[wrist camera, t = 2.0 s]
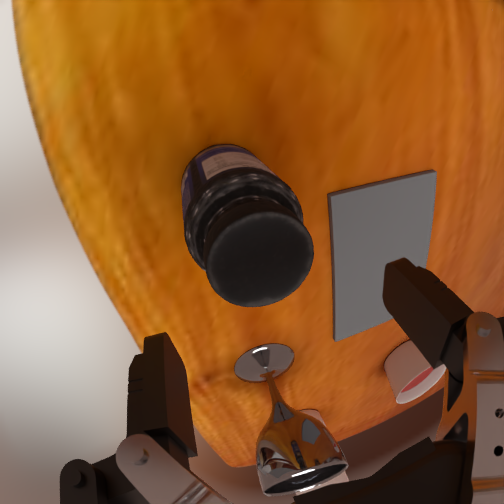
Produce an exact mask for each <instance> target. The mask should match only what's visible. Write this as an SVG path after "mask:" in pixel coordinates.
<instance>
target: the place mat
mask: <svg viewBox="0 0 504 504" xmlns="http://www.w3.org/2000/svg"><path fill="white" fill-rule="evenodd" d="M436 175H437V172H436V171H434V170H429V171H424V172H419V173H415V174H410V175H406V176H401V177H397V178H392V179H388V180H384V181H379V182H375V183H371V184H366V185H362V186H358V187H354V188H350V189H345V190H341V191H337V192H333V193H329V194H328V206H329V220H330V236H331V255H332V281H333V339H334V341H335V342H336V341H339V340H342V339H344V338H347V337H349V336H352V335H355V334H357V333H360V332H362V331H364V330H367V329H369V328H372V327H374V326H377V325H379V324H381V323H384V322H386V321H388V320H390V319H393V317H392V316H391V314H390V313H389V312H388V311H387V309H386V308H385V305H384V303H383V298H382V293H383V282H384V271H385V265H386V264H387V263H390V262H392V261H395V260H398V259H400V258H403V257H405V258H407V259H408V260H409V261H411V262H412V263H413V264H414V265H415V266H416V267H417V266H420V267H422V268H426V263H427V257H428V251H429V244H430V237H431V230H432V221H433V212H434V202H435V191H436Z"/></svg>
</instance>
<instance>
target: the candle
mask: <svg viewBox="0 0 504 504" xmlns="http://www.w3.org/2000/svg"><path fill="white" fill-rule="evenodd" d="M384 369H385V372H386V375H387V377H388V380H389V383H390V385H391V388H392V391H393V394H394V396H395V399H396V402H397V403H399V404H402V403H406V402H409V401H411V400H414V399H415V398H417V397H419V396H420V395H422V394H423V393H425V392H426V391H427V390H429V389H430V388H431V387H432V386H433V385H434V384H435V383H436V382H437V381H438V380H439V379H440V378H441V376H442V375H443V373H444V372H445V370H446V366H445V365H444V364H443V365H441V366H439V367H438V368H436V369H433V368H432V367H431V365H430V364H429V363H428V361H427V360H426V359H425V357H424V356H423V355H422V353H421V352H420V351H419V350H418V348H417V347H416V346H415V344H414V343H413V342H412V341H411V340H410V341H407V342H405V343H403V344H401V345H400V346H399V347H397V348H396V349H395V350H394V351H393V352H392V353H391V354H390V355H389V356H388V358H387V359H386V361H385V363H384Z"/></svg>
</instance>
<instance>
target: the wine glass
mask: <svg viewBox="0 0 504 504" xmlns="http://www.w3.org/2000/svg"><path fill="white" fill-rule="evenodd" d="M293 362H294V352H293V351H292V349H291V348H290V347H288V346H286V345H283V344H265V345H261V346H258V347H255V348H253V349H251V350H249V351H247V352H246V353H244V354H243V355H242V356H241V357H240V358H239V359H238V360H237V362H236V364H235V366H234V371H235V374H236V376H237V377H238V378H239V379H241V380H243V381H245V382H249V383H261V382H267V383H268V386H269V390H270V395H271V401H272V410H271V414H270V416H269V419H268V420H267V422H266V424H265V426H264V427H263V429H262V431H261V432H260V434H259V436H258V439H257V442H256V464H257V471H258V475H259V480H260V483H261V487H262V490H263V493H264V495H266V496H281V495H287V494H293V493H297V492H301V491H304V490H307V489H310V488H313V487H316V486H318V485H321V484H323V483H325V482H327V481H329V480H331V479H333V478H335V477H337V476H338V475H340V474H341V473H343V472H344V471H345V470H346V469H347V468H348V464H347V461H346V459H345V457H344V455H343V452H342V451H341V449H340V447H339V445H338V443H337V441H336V440H335V438H334V437H333V435H332V434H331V433H330V431H329V430H328V429H327V428H326V426H325V425H324V424H323V423H322V422H321V421H320V420H318V419H316V418H314V417H313V416H310V415H308V414H305V413H303V412H300V411H298V410H295V409H294V408H292V407H290V406H289V405H288V404H287V403H286V402H285V401H284V400H283V398H282V396H281V395H280V393H279V391H278V389H277V387H276V384H275V382H274V379H275V378H277V377H279V376H281V375H283V374H284V373H285V372H286V371H288V370H289V368H290V367H291V366H292V364H293Z"/></svg>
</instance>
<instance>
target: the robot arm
mask: <svg viewBox="0 0 504 504" xmlns="http://www.w3.org/2000/svg"><path fill="white" fill-rule="evenodd" d="M382 298H383V303H384V305H385V308H386V309H387V311H388V312H389V313H390V314H391V316H392V317H393V318H394V319H395V321H396V322H397V323H398V324H399V326H400V327H401V328H402V329H403V331H404V332H405V333H406V334H407V336H408V337H409V338H410V339H411V341H412V342H413V343H414V344H415V346H416V347H417V348H418V350H419V351H420V352H421V353H422V355H423V356H424V357H425V359H426V360H427V361H428V363H429V364H430V365H431V367H432V368H433V369H436V368H438V367H439V366H441V365H443V364H444V365H445V366H446V371H445V386H444V402H443V415H442V419H441V422H440V425H439V428H438V431H437V435H436V440H435V441H434V442H432V441H431V440H430V438H429V437H427V438H425V439H424V440H422V441H420V442H419V443H417V444H415V445H413V446H412V447H410V448H408V449H406V450H404V451H402V452H400V453H399V454H398V455H397V456H396V457H394V458H393V459H392V460H391V461H390V462H388V463H387V464H386V465H385V466H383V467H382V468H381V469H380V470H379V471H377V472H376V473H375V474H373V475H372V476H370V477H368V478H364V479H359V480H354V481H348V482H342V483H336V484H329V485H327V486H324V487H321V488H318V489H315V490H312V491H309V492H306V493H303V494H300V495H297V496H294V497H293V498H294V501H295V502H293V503H291V504H504V317H500V318H495V317H494V316H493V315H491V314H489V313H486V312H475V313H474V312H473V311H472V310H471V309H470V308H469V307H468V306H467V305H466V304H465V303H464V302H463V301H462V300H461V299H460V298H459V297H458V296H457V295H456V294H455V293H454V292H453V291H452V290H450V289H449V288H447V286H446V285H445V284H444V283H443V282H442V281H441V282H440V279H439V278H438V277H437V276H435V275H434V274H433V273H432V272H431V271H429V270H427V269H425V268H422V267H420V266H417V267H416V266H415V265H414V264H413V263H412V262H411V261H409V260H408V259H407V258H405V257H403V258H400V259H398V260H395V261H392V262H390V263H387V264H386V265H385V271H384V282H383V293H382ZM128 381H129V384H128V400H127V436H126V439H124V440H123V441H122V442H121V443H120V445H119V447H118V448H117V451H116V453H115V454H114V455H112V456H110V457H109V458H106V459H103V460H101V461H99V462H96V463H94V464H89V463H88V462H86V461H84V460H81V459H75V460H72V461H70V462H68V463H67V464H66V465H65V466H64V467H63V469H62V471H61V474H60V504H233V503H231V502H230V501H229V500H227V499H226V498H225V497H223V496H222V495H221V494H219V493H218V492H217V491H215V490H214V489H213V488H212V487H210V486H209V485H208V484H207V483H205V482H204V481H203V480H202V479H201V478H199V477H198V476H197V475H196V474H194V473H193V472H192V471H191V470H190V467H189V461H188V458H189V457H195V456H198V455H197V448H196V442H195V435H194V428H193V421H192V414H191V406H190V398H189V390H188V382H187V374H186V369H185V366H184V363H183V361H182V359H181V357H180V355H179V354H178V352H177V350H176V348H175V346H174V345H173V343H172V341H171V339H170V337H169V336H168V334H167V333H166V332H163V333H159V334H156V335H152V336H148V337H145V338H144V350H143V353H142V354H138V355H135V357H134V359H133V361H132V363H131V365H130V367H129V378H128Z"/></svg>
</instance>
